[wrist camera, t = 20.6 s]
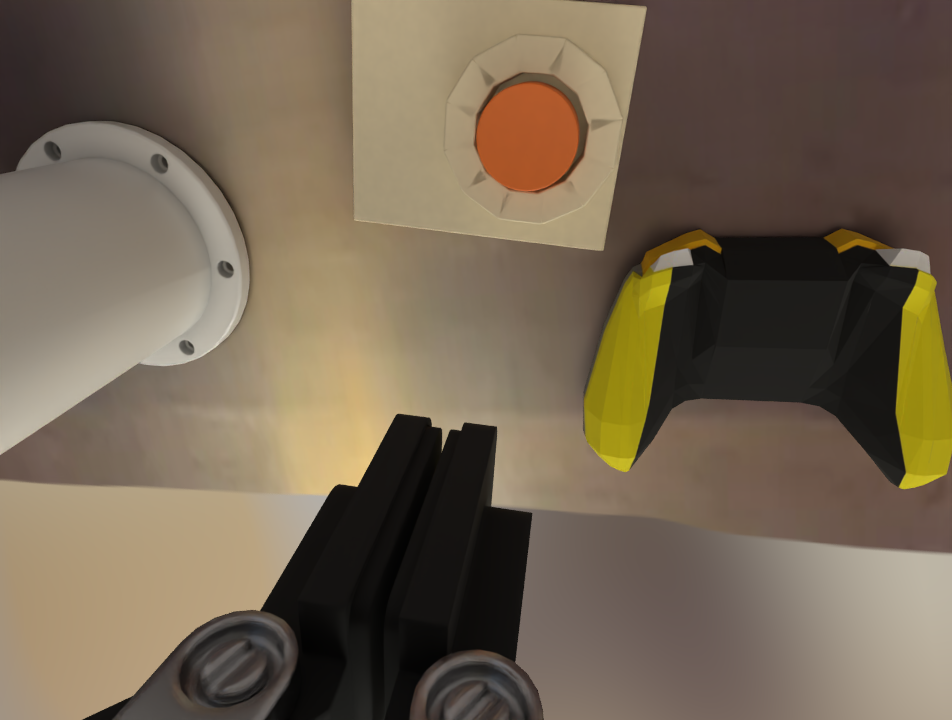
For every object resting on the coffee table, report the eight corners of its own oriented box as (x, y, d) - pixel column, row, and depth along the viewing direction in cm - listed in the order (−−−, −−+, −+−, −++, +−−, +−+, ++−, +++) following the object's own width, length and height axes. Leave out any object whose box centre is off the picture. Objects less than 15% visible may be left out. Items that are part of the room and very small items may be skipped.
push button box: (369, 209, 29) (338, 230, 25) (369, -11, 25) (332, -23, 21) (602, 238, 28) (604, 264, 24) (642, 10, 24) (651, 1, 20)
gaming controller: (899, 431, 29) (961, 223, 25) (961, 505, 24) (1052, 262, 20) (582, 416, 32) (589, 225, 27) (580, 480, 27) (588, 261, 23)
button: (479, 177, 24) (472, 185, 22) (488, 76, 22) (480, 77, 21) (572, 188, 23) (570, 196, 22) (587, 85, 22) (586, 88, 20)
